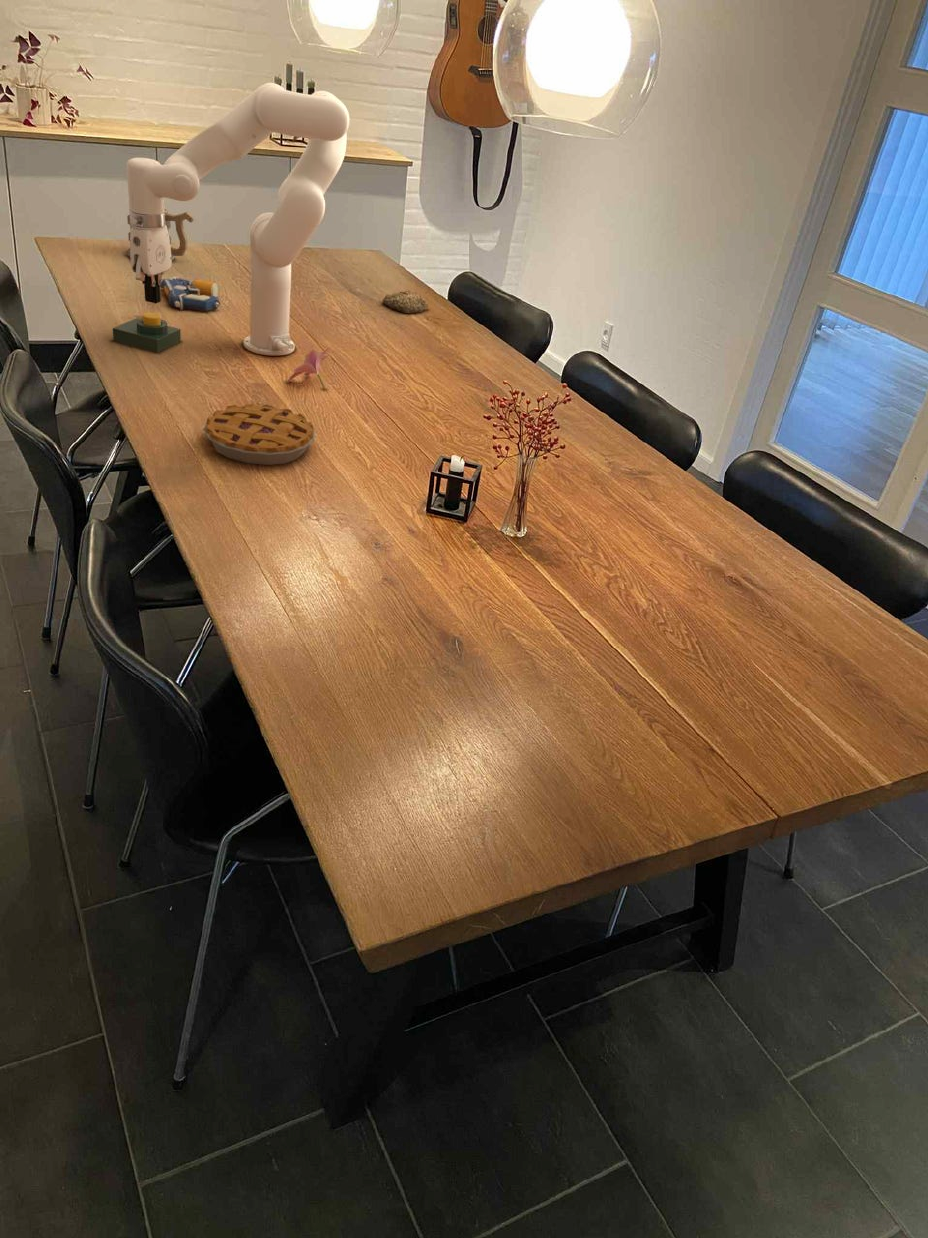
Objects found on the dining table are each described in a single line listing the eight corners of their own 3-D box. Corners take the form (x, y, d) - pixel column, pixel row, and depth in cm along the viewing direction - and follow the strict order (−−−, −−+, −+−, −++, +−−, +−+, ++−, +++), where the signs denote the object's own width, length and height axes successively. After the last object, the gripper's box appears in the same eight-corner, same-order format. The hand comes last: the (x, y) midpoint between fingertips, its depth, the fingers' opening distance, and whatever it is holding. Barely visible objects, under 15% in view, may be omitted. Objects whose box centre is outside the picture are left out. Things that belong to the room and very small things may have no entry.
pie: (223, 414, 196) (223, 392, 194) (325, 432, 196) (326, 410, 194) (188, 456, 178) (188, 432, 176) (300, 476, 178) (301, 452, 176)
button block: (180, 341, 227) (180, 321, 224) (157, 353, 219) (156, 332, 216) (137, 330, 229) (136, 310, 227) (113, 341, 221) (111, 320, 218)
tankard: (121, 257, 276) (117, 204, 268) (140, 248, 286) (137, 197, 278) (185, 270, 275) (183, 217, 266) (202, 261, 285) (201, 209, 277)
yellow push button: (164, 323, 223) (163, 315, 222) (154, 328, 219) (154, 319, 218) (149, 320, 223) (149, 311, 222) (139, 324, 220) (139, 315, 219)
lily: (334, 380, 224) (318, 342, 220) (352, 379, 214) (336, 339, 210) (290, 399, 220) (274, 360, 216) (306, 399, 210) (289, 358, 206)
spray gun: (212, 288, 265) (158, 288, 258) (212, 273, 262) (157, 272, 256) (229, 314, 250) (172, 314, 244) (229, 298, 248) (171, 298, 241)
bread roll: (402, 315, 270) (404, 298, 267) (377, 302, 277) (378, 285, 274) (435, 311, 278) (437, 295, 275) (410, 298, 285) (412, 282, 282)
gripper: (143, 228, 201) (148, 312, 212) (180, 217, 213) (184, 297, 224) (113, 221, 203) (120, 305, 213) (152, 210, 215) (157, 290, 225)
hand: (153, 301), depth 219 cm, fingers closed
